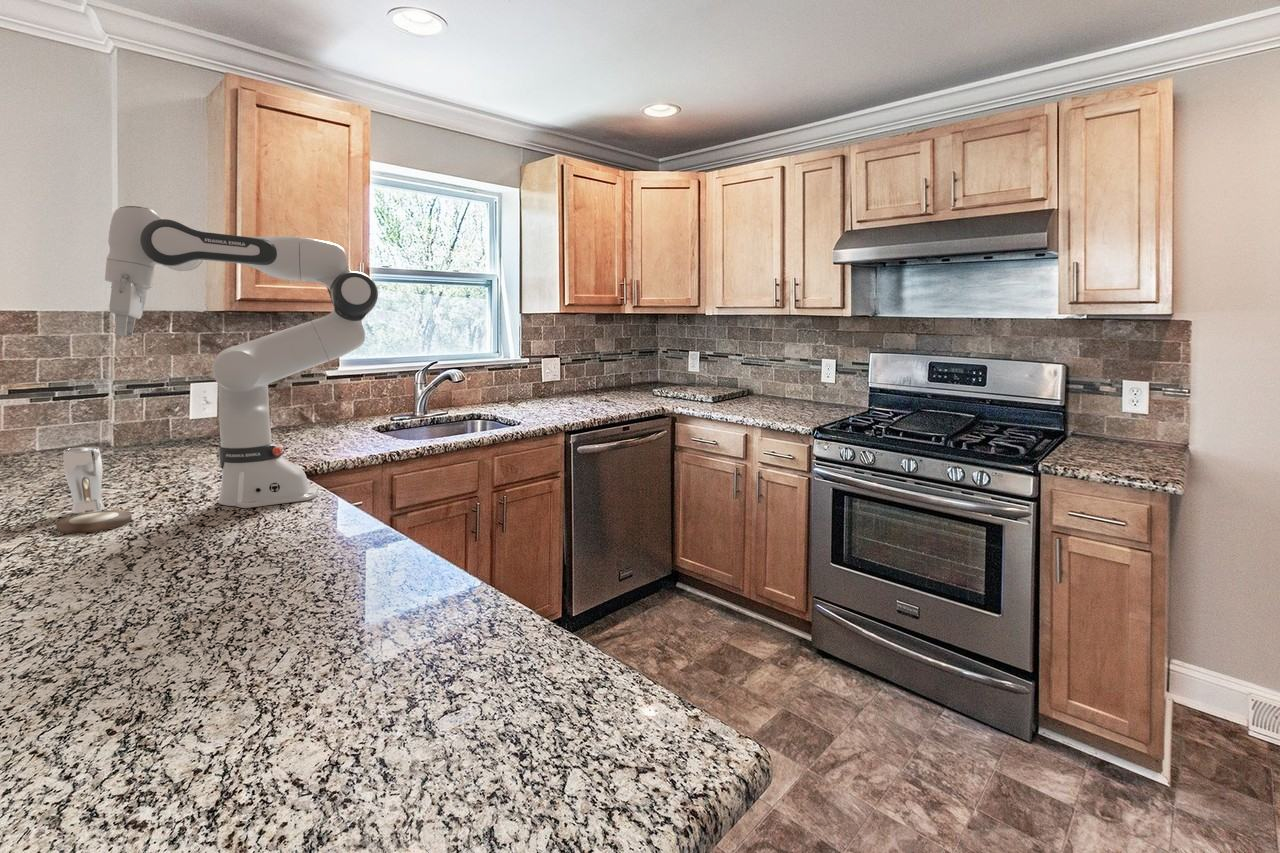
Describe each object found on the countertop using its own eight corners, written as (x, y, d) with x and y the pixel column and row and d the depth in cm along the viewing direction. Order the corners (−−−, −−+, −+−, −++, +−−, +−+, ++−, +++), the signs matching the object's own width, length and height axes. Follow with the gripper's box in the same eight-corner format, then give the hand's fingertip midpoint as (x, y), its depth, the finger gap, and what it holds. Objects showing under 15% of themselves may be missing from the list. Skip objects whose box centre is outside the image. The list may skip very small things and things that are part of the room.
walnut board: (138, 514, 158) (137, 507, 158) (122, 529, 146) (121, 522, 146) (69, 520, 153) (68, 512, 153) (46, 536, 141) (45, 528, 141)
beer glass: (86, 516, 156) (78, 452, 154) (61, 514, 157) (53, 451, 155) (114, 508, 163) (107, 447, 161) (91, 506, 164) (84, 445, 162)
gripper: (139, 274, 149) (134, 336, 149) (151, 283, 167) (146, 339, 167) (104, 269, 146) (98, 332, 146) (119, 278, 163) (114, 335, 164)
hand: (124, 336), depth 157 cm, fingers open, 8 cm apart
